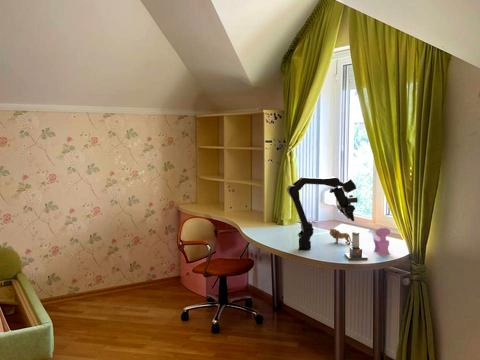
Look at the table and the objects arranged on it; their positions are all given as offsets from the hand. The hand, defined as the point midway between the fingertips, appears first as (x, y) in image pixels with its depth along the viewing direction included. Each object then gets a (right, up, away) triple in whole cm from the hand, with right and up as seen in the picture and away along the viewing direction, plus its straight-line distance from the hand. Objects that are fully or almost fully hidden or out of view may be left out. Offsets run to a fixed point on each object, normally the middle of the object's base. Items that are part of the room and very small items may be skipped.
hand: (351, 219), depth 275 cm
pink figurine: (+14, -18, -14) cm, 27 cm away
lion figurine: (-4, -16, +11) cm, 19 cm away
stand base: (-3, -19, -23) cm, 30 cm away
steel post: (-3, -17, -24) cm, 29 cm away
